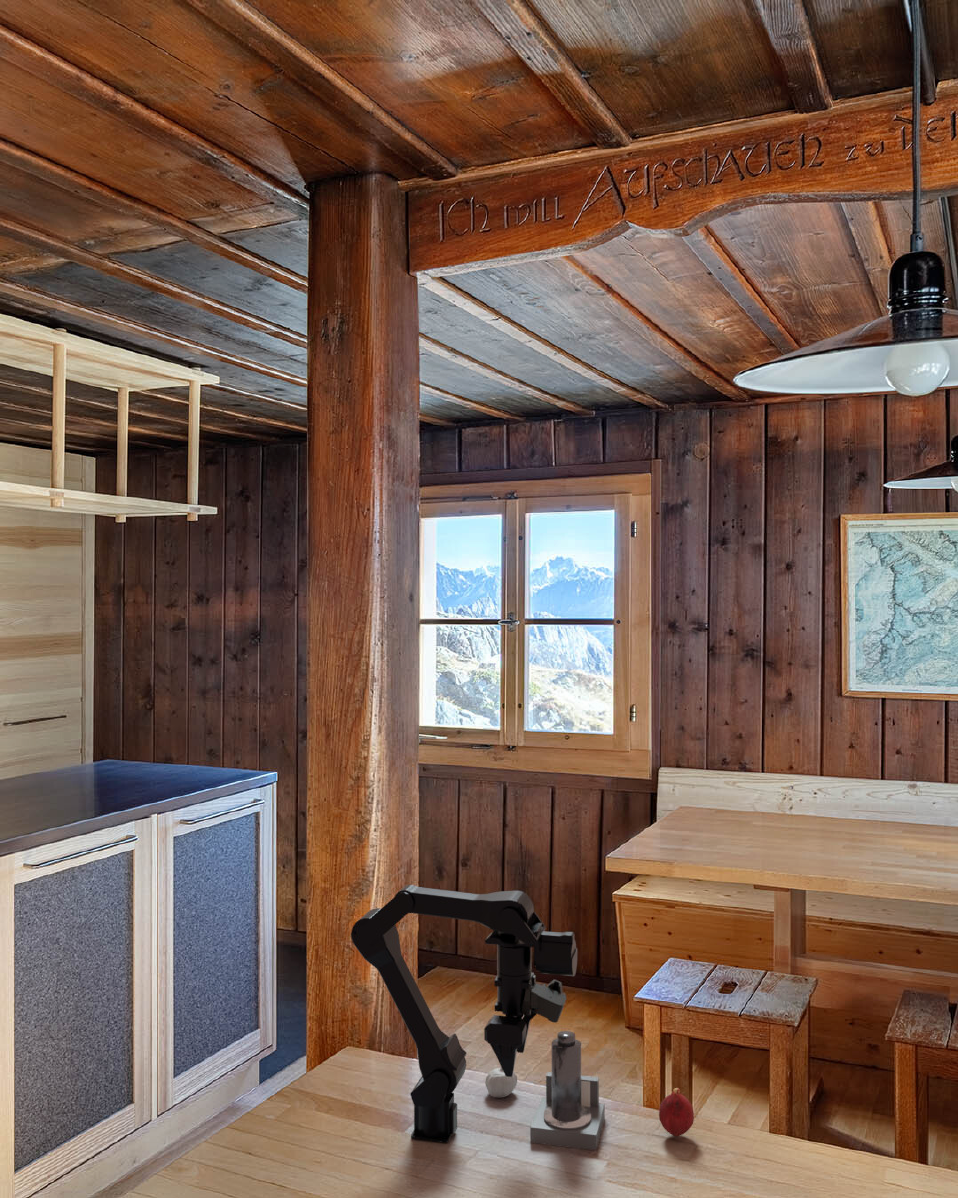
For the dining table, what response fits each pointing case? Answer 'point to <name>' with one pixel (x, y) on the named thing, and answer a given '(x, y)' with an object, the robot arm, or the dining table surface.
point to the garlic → (500, 1083)
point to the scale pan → (572, 1125)
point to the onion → (676, 1113)
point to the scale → (571, 1138)
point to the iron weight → (566, 1077)
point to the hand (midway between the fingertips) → (514, 1064)
